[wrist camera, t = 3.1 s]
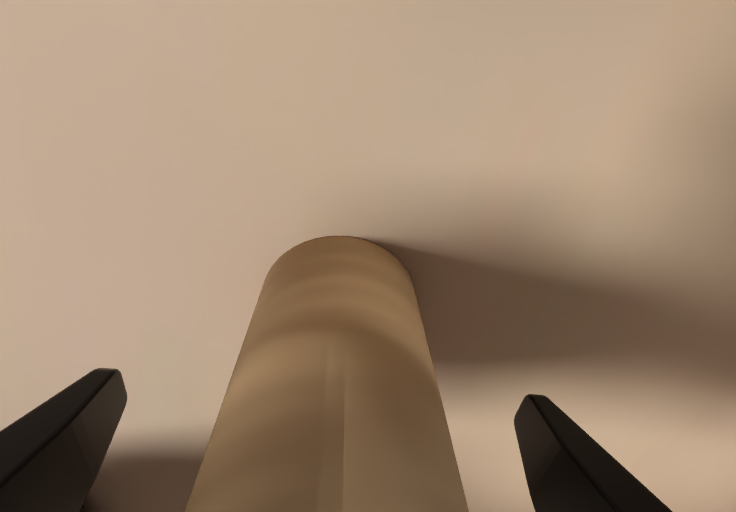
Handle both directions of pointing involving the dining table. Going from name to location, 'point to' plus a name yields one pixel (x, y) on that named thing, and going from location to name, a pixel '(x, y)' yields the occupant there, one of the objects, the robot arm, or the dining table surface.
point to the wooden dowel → (332, 395)
